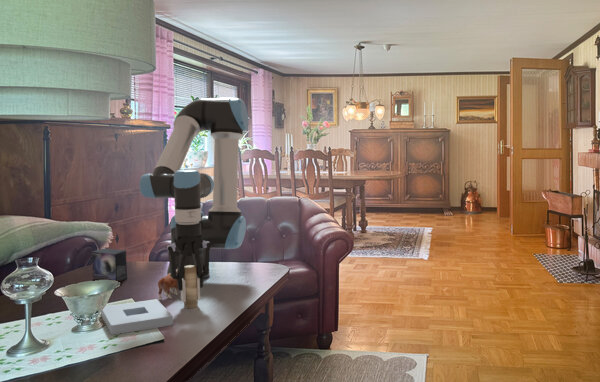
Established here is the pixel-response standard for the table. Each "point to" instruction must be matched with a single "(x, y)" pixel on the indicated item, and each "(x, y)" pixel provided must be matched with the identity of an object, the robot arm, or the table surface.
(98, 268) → the small box
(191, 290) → the peg
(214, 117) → the robot arm
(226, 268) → the table surface
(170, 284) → the bull figurine
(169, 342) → the table surface
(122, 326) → the socket board
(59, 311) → the table surface
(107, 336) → the table surface
